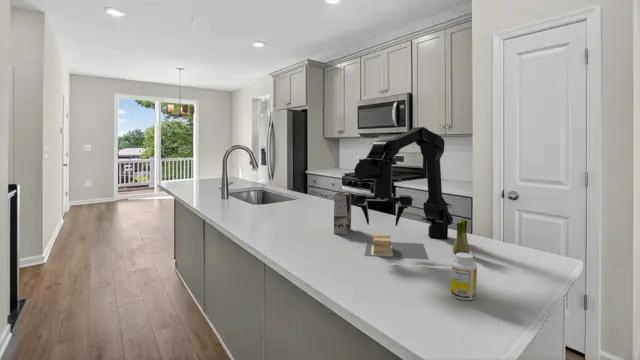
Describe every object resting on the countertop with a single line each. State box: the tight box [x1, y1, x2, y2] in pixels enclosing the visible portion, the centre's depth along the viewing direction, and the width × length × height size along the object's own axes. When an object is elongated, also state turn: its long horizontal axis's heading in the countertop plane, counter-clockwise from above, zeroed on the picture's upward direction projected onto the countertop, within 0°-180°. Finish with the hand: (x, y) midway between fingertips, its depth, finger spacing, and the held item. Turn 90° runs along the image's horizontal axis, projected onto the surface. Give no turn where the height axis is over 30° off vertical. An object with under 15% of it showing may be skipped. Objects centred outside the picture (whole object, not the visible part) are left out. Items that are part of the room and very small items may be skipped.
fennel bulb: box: [452, 219, 470, 256], centre depth 115 cm, size 6×5×12 cm
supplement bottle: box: [450, 252, 478, 301], centre depth 84 cm, size 6×6×10 cm
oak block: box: [373, 233, 392, 255], centre depth 119 cm, size 9×6×4 cm, turn 170°
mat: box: [363, 240, 429, 260], centre depth 121 cm, size 20×18×1 cm
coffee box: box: [333, 191, 352, 235], centre depth 147 cm, size 9×6×16 cm
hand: (382, 225), depth 118 cm, fingers open, 9 cm apart
